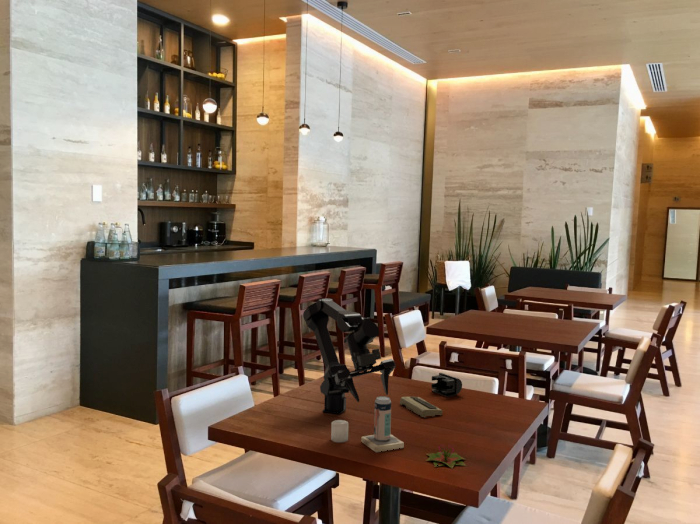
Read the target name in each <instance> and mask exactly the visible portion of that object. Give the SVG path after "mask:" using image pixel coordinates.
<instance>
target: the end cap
mask: <svg viewBox="0 0 700 524" xmlns="http://www.w3.org/2000/svg"><path fill="white" fill-rule="evenodd" d="M431 381H432V382H433V381H436V382H434V383H431V385H430V386H431V389H432V390H431V392H432V391H433V392H432V393H434V392H435V393H434V394H437V393H438V394H437V395H439V394H440V396H442V395H443V396H442V397H445V396H446V397H445V398H451V397H450V396H452V397H456V396H458V395H459V393H460V392H461V391H462V389H463V382H462V380H461V379H460V378H459V377H455V376H452V375H450V374H446V373H443V372H438V375H432V376H431ZM455 395H456V396H455Z"/></svg>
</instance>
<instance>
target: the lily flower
mask: <svg viewBox="0 0 700 524" xmlns="http://www.w3.org/2000/svg"><path fill="white" fill-rule="evenodd" d="M440 445H441V446H438V448H439V449H438V450H439V451H437V452H436V453H433V452H431V453H426V455H427V456H428V458H427V459H425V460H424V461H425V462H426V461H427V462H428V461H433V467H434V468H436V467H441V466H446V465H447V466H448V467H449V468H450V469H451V470H453V468H454V466H463V467H467V465H466V463H465V462H463V461H462V460H466V458H465V457H462V456H461V455H459V454H458V452H454V451H455V449H454V447H453V445H451V446H450V444H448V446H447V449H446V447H444V446H443V444H440ZM451 447H452V448H451ZM451 450H452V451H451ZM443 460H444V461H443ZM448 460H449V461H448ZM447 461H448V462H447ZM440 462H441V463H442V464H440ZM438 464H439V465H438ZM437 465H438V466H437Z"/></svg>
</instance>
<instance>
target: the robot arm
mask: <svg viewBox="0 0 700 524" xmlns="http://www.w3.org/2000/svg"><path fill="white" fill-rule="evenodd" d="M302 313H303V314H302V317H303V320H304V321H305V324H306V327H307V328H308V329H310V330H311V331H312V332H313V334H314V337H315V339H316V343H317V345H318V349H319V352H320V355H321V358H322V361H323V364H324V367H325V371H324V374H323V380H322V381H323V382H322V383H321V384H320V385H319V389H320V393H321V394H322V395H324V406H323V407H324V409H322V413H329V414H336V415H337V414H338V415H340V414H342V413H344V411H345V410H346V409H347V397H346V393H347V394H349V393H350V394H351V395H352V396H353V398H354V400H356V402H357V403H359V402H360V397H359V394H358V392H357V389H356V386H355V383H354V380H353V378H357V377H361V376H364V375H369V374H373V373H378V372H380V373H381V374H380V379H381V380H380V381H381V383H382V386H383V391H384V393H385V395H386V396H388V395H389V377H390V375H391V373H392V372H394V370H395V369H396V367H397V365H396V361H395V360H394V359H393V358H388V359H386V360H385V359H384V360H381V359H382V356H381V355H382V354H381V351H380V349H379V348H375V349H372V350H371V351H370V349H369V347H368V345H369V344H370V343H371V342H372V341H373V340H374V339H376V338H377V337H378V335H379V333H380V329H379V326H378V325H377V324H376V323H375V322H374V321H373V320H371V318H370V317H363V316H362V314H360V313H359V312H356V311H350V310H346V309H345V308H343V307H342V306H340V305H339V304H338V303H336V302H335V301H334V300H333V299H332V298H319V299H317V300H316V302H314V303H312V304H310V305H308V306H307V307H306V308H305V310H304V311H303V312H302ZM330 318H331V319H332V320H334V321H335V322H336V323H337V324H336V327H337V328H338V329H339V330H340V331H341V332H342V333H346V334H345V338H344V340H343V343H344V344H347V346H348V351H349V353H350V356H351V362H352V364H353V367H354V370H351V371H350V369H349V368H348V366H347V365H346V364H341V363H340V361H339V358H338V355H337V352H336V349H335V347H334V346H335V345H334V343H333V341H332V338H331V334H330V332H329V328H328V324H329V320H330ZM349 332H351V333H349ZM347 333H349V334H347ZM377 360H381V362H380V363H379V364H378V365H377ZM375 364H376V365H375Z"/></svg>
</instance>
